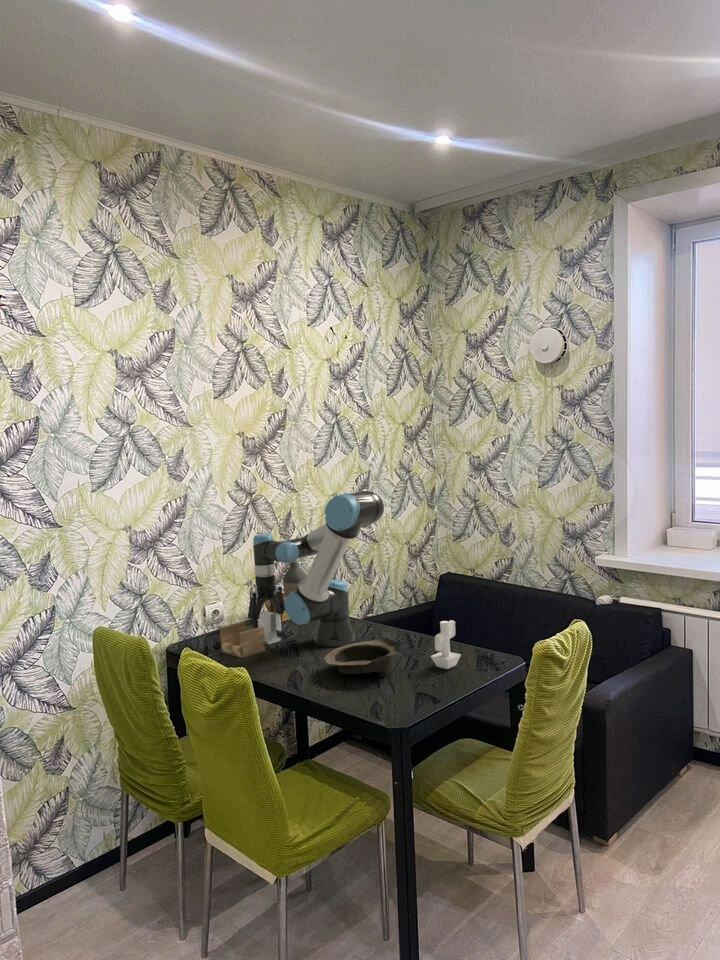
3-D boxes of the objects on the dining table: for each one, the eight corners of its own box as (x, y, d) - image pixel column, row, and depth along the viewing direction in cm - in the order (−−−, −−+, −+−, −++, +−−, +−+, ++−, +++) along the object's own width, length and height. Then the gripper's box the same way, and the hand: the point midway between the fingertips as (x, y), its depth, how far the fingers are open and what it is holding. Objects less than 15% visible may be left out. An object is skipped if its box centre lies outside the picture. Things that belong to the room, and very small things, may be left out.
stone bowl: (416, 672, 238) (414, 645, 236) (351, 696, 225) (348, 667, 223) (374, 653, 258) (372, 628, 257) (312, 674, 245) (309, 647, 244)
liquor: (302, 616, 315) (298, 547, 313) (282, 615, 318) (279, 547, 316) (310, 611, 324) (307, 543, 321) (292, 610, 327) (288, 543, 325)
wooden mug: (254, 622, 309) (252, 580, 308) (282, 616, 317) (280, 575, 316) (265, 626, 302) (263, 583, 301) (293, 620, 310) (291, 577, 309)
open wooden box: (265, 650, 269) (264, 626, 268) (241, 658, 262) (240, 633, 261) (245, 644, 278) (243, 621, 277) (221, 651, 271) (219, 627, 270)
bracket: (280, 640, 281) (279, 612, 280) (268, 644, 277) (266, 615, 276) (269, 637, 286) (267, 609, 285) (257, 641, 282) (255, 612, 281)
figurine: (428, 667, 242) (426, 623, 241) (445, 660, 249) (444, 616, 248) (446, 672, 237) (444, 626, 236) (463, 664, 244) (462, 619, 243)
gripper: (281, 569, 290) (284, 625, 292) (235, 578, 275) (239, 638, 276) (293, 571, 285) (296, 628, 286) (247, 581, 269) (251, 641, 271)
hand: (268, 633), depth 281 cm, fingers open, 9 cm apart
